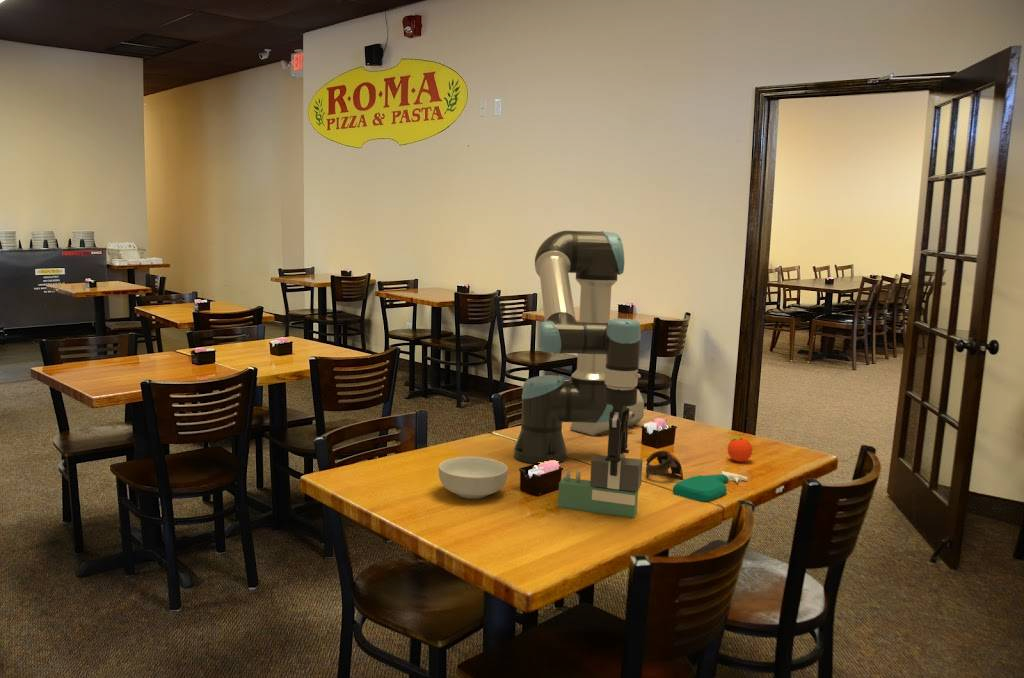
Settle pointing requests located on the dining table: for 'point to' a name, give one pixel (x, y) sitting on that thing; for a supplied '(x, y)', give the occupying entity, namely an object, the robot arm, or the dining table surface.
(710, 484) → the spray bottle
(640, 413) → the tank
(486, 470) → the cereal bowl
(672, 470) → the brown arched frame
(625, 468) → the block
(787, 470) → the dining table surface
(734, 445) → the tomato
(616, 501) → the board
